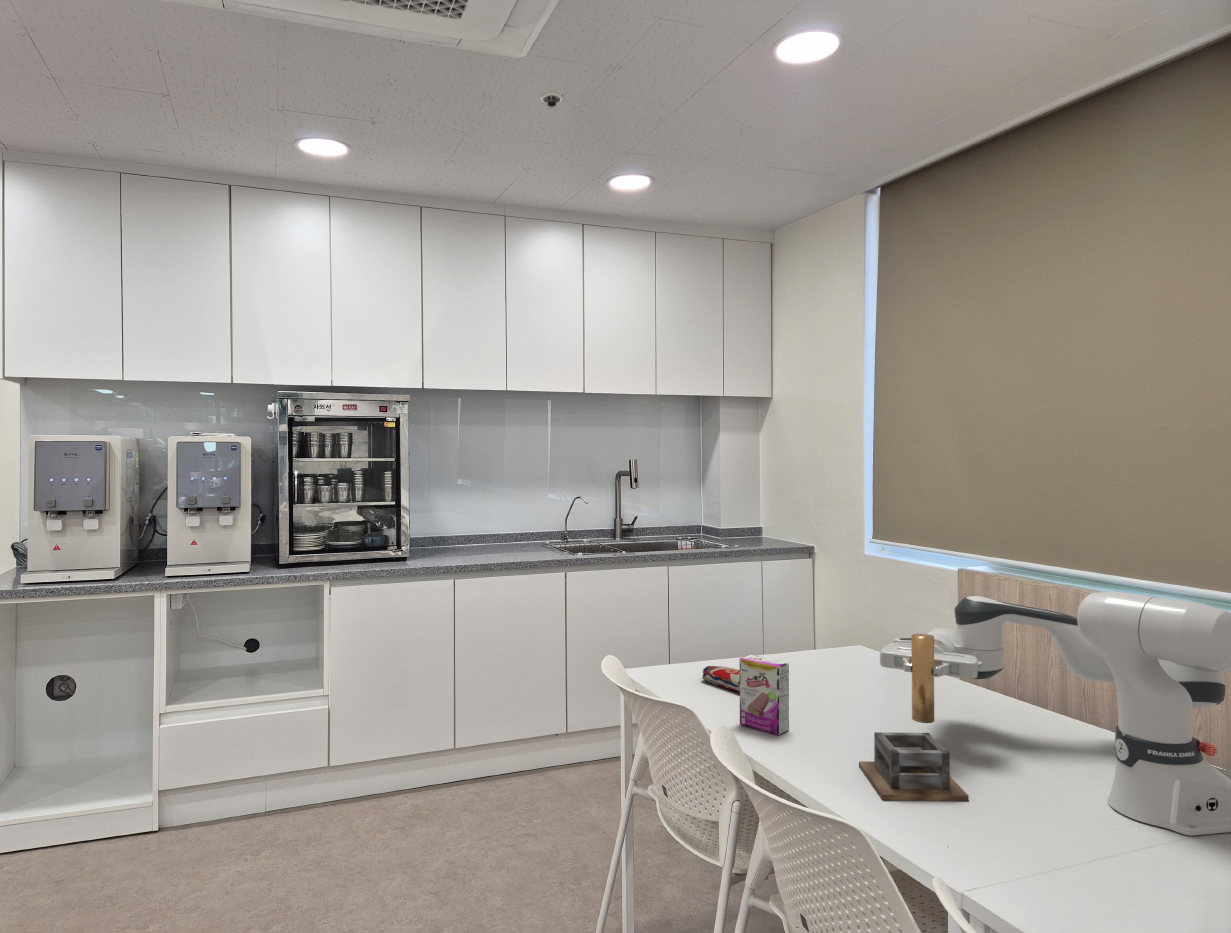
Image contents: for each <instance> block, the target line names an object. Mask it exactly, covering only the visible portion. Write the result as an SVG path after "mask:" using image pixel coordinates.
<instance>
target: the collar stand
mask: <svg viewBox="0 0 1231 933" xmlns="http://www.w3.org/2000/svg"><path fill="white" fill-rule="evenodd" d="M873 733H874V735H873V737H874V741H873V742H874V746H873V748H874V752H873V753H874V754H873V756H874V758H873V759H874V760H873V761H871V760H870V761H865V760H864V761H861V760H860V761H858V767H859V769H860V770H861V771H862V773H863V774H864V775H865V777H866V779H867V780H868V782H869V783H870V785H871V786H872V787H873V789H874V790H875V792H876V793H877V795H878V796H879V797H880V799H881V800H882V801H925V802H926V801H929V802H931V801H933V802H936V801H937V802H939V801H941V802H942V801H944V802H948V801H950V802H951V801H953V802H969V798H970V796H969V794H968V793H967V792H966V791H965V790H964V789H963V788H962V787H961V786H960V784H958V783H957V781H955V780H954V779H953V778H952V777H951V762H950V760H951V759H950V758H951V757H950V756H951V754H950V752H949V751H948V750H947V749H946V748H945V747H944V746H943V745H942V744H941V743H940V742H939V741H938V740H936V738H935V737H934V736H933V735H932V734H931V733H930V732H882V731H881V732H873ZM897 748H918V749H897ZM919 748H920V749H919Z"/></svg>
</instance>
